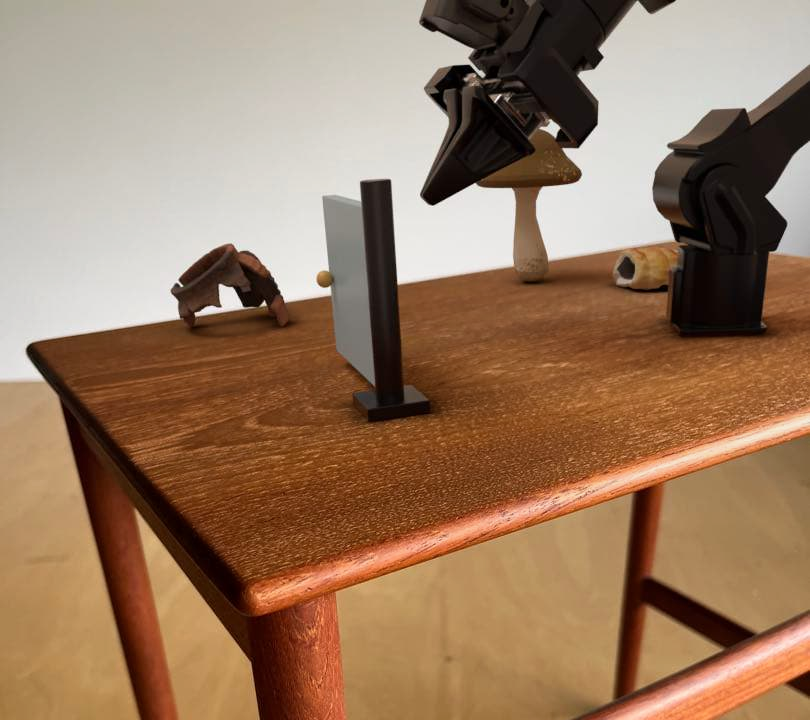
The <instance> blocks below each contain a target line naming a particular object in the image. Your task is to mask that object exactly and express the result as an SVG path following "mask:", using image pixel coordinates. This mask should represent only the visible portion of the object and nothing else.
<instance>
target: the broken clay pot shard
mask: <svg viewBox="0 0 810 720" xmlns="http://www.w3.org/2000/svg"><path fill="white" fill-rule="evenodd" d="M177 280H178V282H179V283H180V284H181V285H180V284H179V283H178V282H175V283H174V284H173V286H172V287H171V288H170V294H171V295H172V296H173V297H174V298H175V300H177V302H178V303H177V312H178V316H179V320H182V319H183V322H184V323H185V324H187V326H188V327H189V328H194V327H195V323H196V313H200V312H202V311H203V310H205V308H208V307H211V306H212V307H215V308H218V309H219V308H221V309H222V308H223V307H222V304H221V300H220V299H221V298H220V285H222V286H224V287H225V288H233V290H234V291H235V294H236V295H237V297H238V299H239V301H240V302H241V305H242V308H244V309H246V308H248V309H249V308H260V307H261V306H262V305H263V304H264V303H265V305H266V307H267V311H268V314H269V316H270V317H272V318H273V317H276V320H277V323H278V326H280V327H284V326H285V325H286V324H287V323H288V321H289V318H290V312H289V311H288V308H287V305H286V303H285V300H284V296H283V295H282V292H281V290H280V289H279V284H278V283H277V282H276V280H275V277H273V276H272V272H271V271H270V270H269V269H268V268H267V267H266V266H265V264H263V263H262V262H261V260H260V259H259V257H258V256H257V255H256V254H255V253H253V252H251V251H250V250H240V251H238V249H237V248H236V247H235V245H234V244H233V243H225V244H222V245H220V246H218V247H216V248H213V249H211V250H210V251H209V252H207V253H205V254H204V255H202V256H201V257H200V258H199V259H198V260H196V261H195V262H194V263H192V265H191V266H189V267H188V268H187V269H186V270H185V271H184V272H183V273H182V274H181V275H180V276H179V278H178V279H177Z"/></svg>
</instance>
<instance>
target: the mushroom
mask: <svg viewBox="0 0 810 720" xmlns="http://www.w3.org/2000/svg"><path fill="white" fill-rule="evenodd" d="M555 139H556V136H554V135H553V134H552V133H550V132H549V131H547V130H545V129H541V128H539V130H538V131H537V132H536V133H535V135H534V136H533V137H532V138H531V140H530V142H531V144H532V145H533V146H534V147H535V149H536V152H535V153H534V154H533V155H531V156H527V157H524V158H522V159H520V160H519V161H517V162H515V163H513V164H511V165H509V166H507V167H505V168H503V169H501V170H499V171H497V172H495V173H493V174H491V175H489V176H488V177H486V178H484V179H482V180H480V181H478V182H476V183H475V185H476V186H477V187H480V188H483V189H512V191H513V193H514V200H515V211H514V212H515V216H514V217H515V218H514V231H513V243H512V244H513V248H512V259H513V260H512V261H513V269H514V271H515V273H516V277H518V278H519V279H521V280H522V281H524V282H530V283H531V282H536V281H540V280H541V279H543V278H545V277H546V276H547V274H548V271H549V268H550V267H549V256H548V252H547V249H546V246H545V243H544V240H543V235H542V232H541V228H540V225H539V221H538V218H537V200H538V197H539V194H540V191H542V189H543V188H545V187H555V186H556V187H557V186H567V185H572V184H575V183H578V182H580V180H581V178H582V176H583V173H582V170H581V168H579V166H578V165H576V163H575V162H573V160H571V158H570V157H569V156H567V154H566V152H565V150H564V148H560V147H559V146H558V145H557V144H556V142H555Z"/></svg>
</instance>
